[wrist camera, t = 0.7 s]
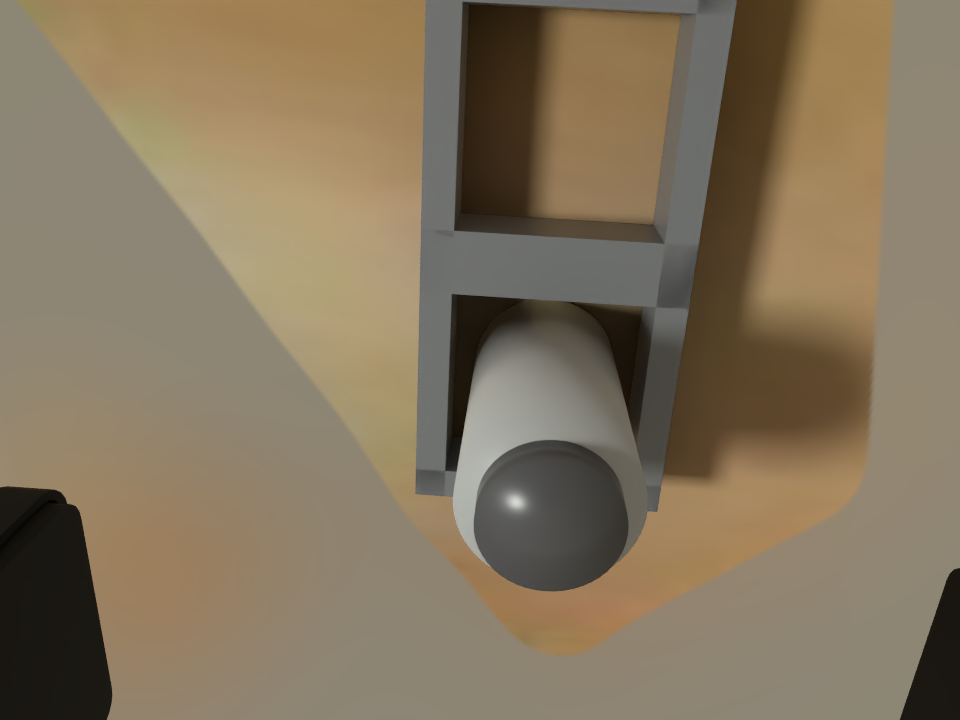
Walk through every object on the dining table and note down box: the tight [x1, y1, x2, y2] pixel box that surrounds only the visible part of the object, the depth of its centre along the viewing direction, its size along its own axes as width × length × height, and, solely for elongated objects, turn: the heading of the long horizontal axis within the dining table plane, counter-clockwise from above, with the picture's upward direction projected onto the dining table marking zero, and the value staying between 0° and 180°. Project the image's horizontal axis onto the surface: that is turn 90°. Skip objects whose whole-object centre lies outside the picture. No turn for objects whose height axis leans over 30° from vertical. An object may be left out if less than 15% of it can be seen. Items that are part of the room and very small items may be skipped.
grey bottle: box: [453, 299, 648, 591], centre depth 29 cm, size 6×6×12 cm
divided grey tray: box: [416, 0, 737, 512], centre depth 31 cm, size 20×10×3 cm, turn 177°
